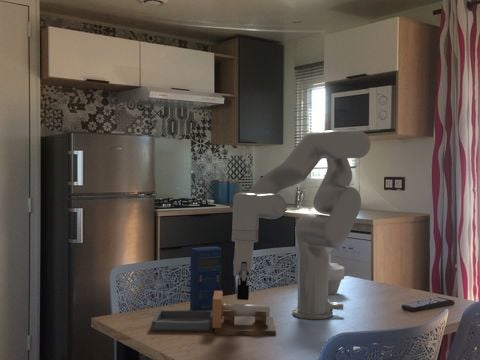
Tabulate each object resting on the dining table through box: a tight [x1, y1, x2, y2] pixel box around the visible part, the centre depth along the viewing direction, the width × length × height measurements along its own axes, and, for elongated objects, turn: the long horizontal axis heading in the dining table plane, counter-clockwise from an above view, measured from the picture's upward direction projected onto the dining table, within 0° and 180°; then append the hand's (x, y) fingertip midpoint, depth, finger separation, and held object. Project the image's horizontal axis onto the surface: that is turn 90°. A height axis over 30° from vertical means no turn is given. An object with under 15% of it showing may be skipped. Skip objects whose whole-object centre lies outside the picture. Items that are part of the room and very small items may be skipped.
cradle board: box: [213, 310, 277, 336], centre depth 156 cm, size 17×14×6 cm
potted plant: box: [325, 247, 345, 296], centre depth 202 cm, size 13×12×25 cm
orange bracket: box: [212, 290, 224, 329], centre depth 156 cm, size 2×10×8 cm, turn 0°
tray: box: [151, 309, 214, 333], centre depth 158 cm, size 17×13×3 cm
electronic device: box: [189, 245, 222, 311], centre depth 176 cm, size 10×5×20 cm, turn 121°
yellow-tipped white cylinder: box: [221, 303, 271, 317], centre depth 157 cm, size 14×4×4 cm, turn 90°
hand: (242, 295), depth 156 cm, fingers open, 9 cm apart
